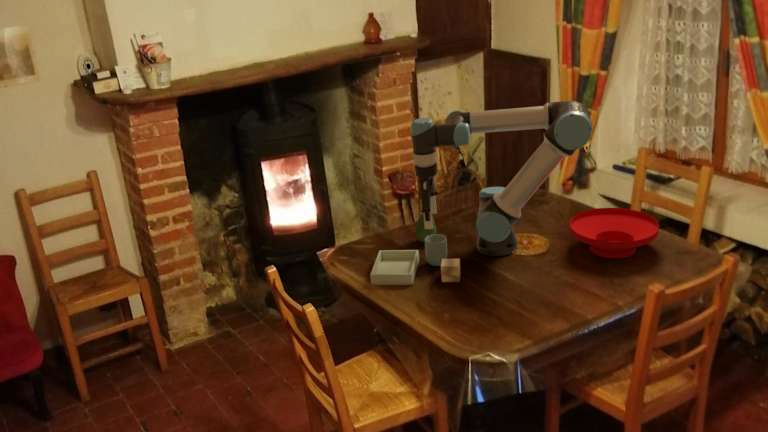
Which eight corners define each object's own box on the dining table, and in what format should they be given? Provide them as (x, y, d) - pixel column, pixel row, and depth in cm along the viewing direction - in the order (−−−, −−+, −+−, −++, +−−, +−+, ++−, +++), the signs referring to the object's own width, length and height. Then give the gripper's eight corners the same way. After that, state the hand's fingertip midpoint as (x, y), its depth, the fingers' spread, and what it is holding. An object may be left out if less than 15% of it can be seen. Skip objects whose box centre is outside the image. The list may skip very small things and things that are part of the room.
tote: (419, 259, 298) (418, 250, 296) (412, 284, 280) (411, 274, 279) (380, 260, 300) (379, 250, 299) (371, 285, 283) (370, 274, 281)
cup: (446, 268, 289) (444, 243, 286) (424, 268, 291) (422, 243, 287) (449, 259, 296) (447, 233, 292) (428, 258, 298) (426, 233, 294)
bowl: (562, 263, 285) (562, 237, 281) (577, 228, 311) (577, 204, 307) (653, 271, 274) (655, 244, 270) (661, 235, 300) (662, 209, 296)
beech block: (460, 274, 285) (459, 258, 283) (459, 282, 279) (458, 266, 277) (443, 274, 286) (442, 258, 284) (441, 282, 280) (440, 266, 278)
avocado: (441, 241, 311) (439, 212, 306) (424, 248, 307) (422, 218, 302) (428, 235, 317) (426, 206, 312) (411, 241, 313) (409, 212, 309)
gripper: (419, 152, 291) (424, 207, 299) (409, 176, 269) (416, 235, 277) (440, 151, 290) (444, 206, 298) (432, 175, 267) (438, 235, 275)
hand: (431, 220), depth 287 cm, fingers open, 13 cm apart
